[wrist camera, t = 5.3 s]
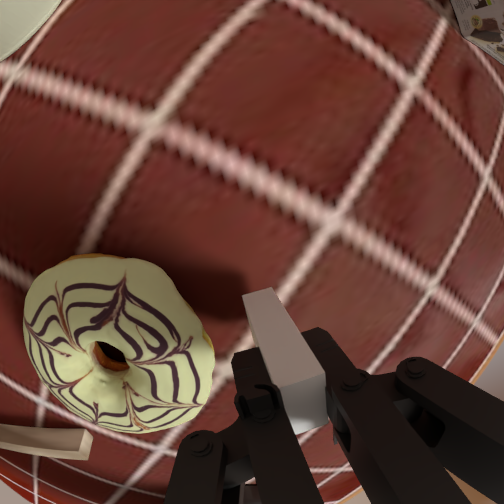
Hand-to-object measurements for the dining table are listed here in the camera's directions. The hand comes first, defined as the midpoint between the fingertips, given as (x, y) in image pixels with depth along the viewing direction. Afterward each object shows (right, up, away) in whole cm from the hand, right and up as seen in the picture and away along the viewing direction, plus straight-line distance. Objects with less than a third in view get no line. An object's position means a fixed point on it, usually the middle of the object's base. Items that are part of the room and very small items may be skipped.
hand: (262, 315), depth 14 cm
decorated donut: (-8, -2, +1) cm, 8 cm away
